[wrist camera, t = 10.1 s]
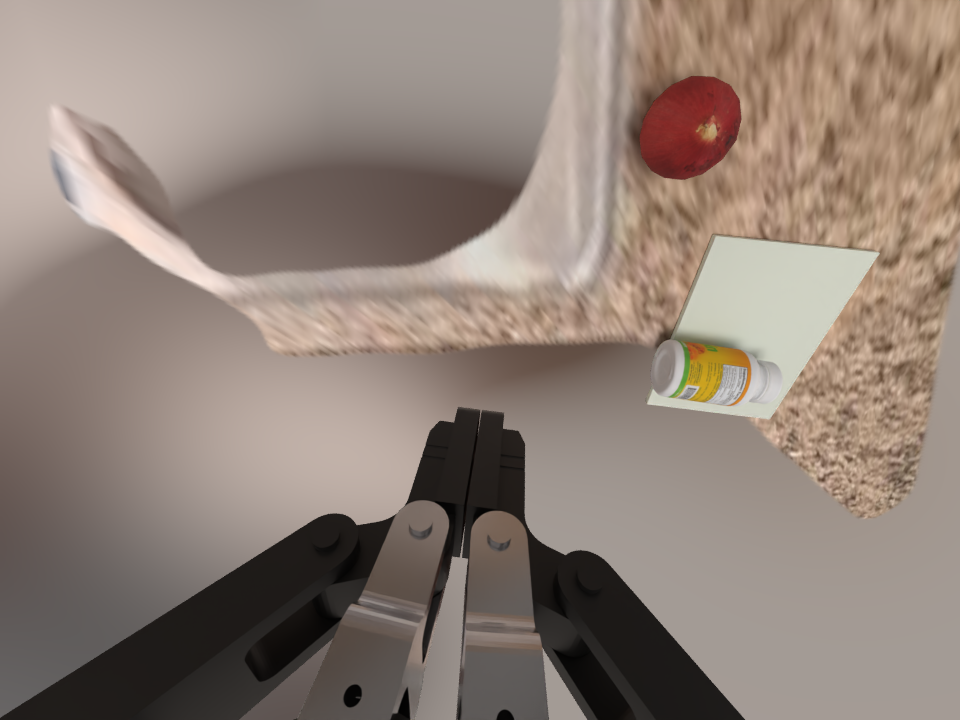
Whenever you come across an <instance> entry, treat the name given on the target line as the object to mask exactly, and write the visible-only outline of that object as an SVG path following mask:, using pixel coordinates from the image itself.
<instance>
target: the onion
mask: <svg viewBox="0 0 960 720" xmlns="http://www.w3.org/2000/svg"><path fill="white" fill-rule="evenodd" d="M740 123H741V110H740V100H739V98H738V97H737V95H736V93H735V92H734V90H733V89H732V87H731V86H730V85H729V84H727V83H725V82H723V81H721V80H719V79H717V78H715V77H703V76H691V77H688V78H686V79H684V80H682V81H680V82H677V83H675V84H673V85H671V86H670V87H669V88H667V89H666V90H665V91H664V92H663V93H662V94H661V95H660V96H659V97H658V98H657V99H656V100H655V101H654V102H653V104H652V106H651V107H650V109H649V111H648V113H647V114H646V116H645V118H644V121H643V125H642V129H641V133H640V146H641V155H642V158H643V159H644V161H645V162H646V164H647V165H648V167H649V168H650V169H651V171H653V172H655V173H657V174H659V175H660V176H662V177H664V178H671V179H680V180H682V179H688V178H691V177H694V176H698V175H701V174H703V173H705V172H706V171H707V170H709V169H710V168H711V167H713V166H714V165H715V164H717V163H718V162H719V161H721V160H722V159H723V158H724V156H725V155H726V154H727V152H728V151H729V149H730V148H731V147H732V145H733V144H734V143H735V141H736V140H737V135H738V131H739V127H740Z"/></svg>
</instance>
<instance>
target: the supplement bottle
mask: <svg viewBox="0 0 960 720" xmlns="http://www.w3.org/2000/svg"><path fill="white" fill-rule="evenodd" d="M651 383H652V386H653V389H654V391H655V392H656V393H657V394H658V395H660V396H664V397H669V398H676V399H682V400H689V401H696V402H703V403H710V404H716V405H723V406H741V405H743V404H745V403H747V402H748V401H749V402H752V403H761V404H767V403H770V402H772V401H773V400H775V399H776V397H777V396H778V395H779V393H780V391H781V388H782V384H783V377H782V372H781V370H780V368H779V367H778V366H777V365H776V364H775V363H773V362H769V361H763V360H756V359H755V357H754V356H753V355H752V354H750V353H749V352H747V351H744V350H739V349H733V348H727V347H720V346H713V345H706V344H699V343H692V342H685V341H678V340H666V341H664V342H663V343H662V344H661V345H660V346H659V347H658V349H657V351H656V353H655V355H654V358H653V361H652V366H651Z"/></svg>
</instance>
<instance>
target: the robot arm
mask: <svg viewBox="0 0 960 720" xmlns="http://www.w3.org/2000/svg"><path fill="white" fill-rule="evenodd" d="M479 418H480V410H478V409H470V408H462V407H458V409H457V413H456V417H455V421H454V423H453V422H446V421H439V422H438V423H437V424H436V425H435V426H434V428H432V430H431V431H430V433H429V436H428V439H427V442H426V446H425V448H424V451H423V455H422V458H421V461H420V464H419V467H418V470H417V474H416V477H415V480H414V483H413V486H412V489H411V492H410V495H409V499H408V501H407V503H406V504H405V506H404V507H403V508H402V509H401V510H399V512H398V513H397V514H395V515H394V516H392V517H391V518H389V519H386V520H383V521H380V522H375V523H368V524H363V525H356V524H355V522H354V521H353V520H352V519H351V518H350V517H348V516H346V515H343V514H327V515H323V516H321V517H318V518H317V519H315V520H313V521H311V522H310V523H308V524H307V525H305V526H304V527H302V528H300V529H299V530H297V531H295V532H294V533H293V534H291V535H289V536H288V537H286V538H284V539H283V540H281V541H280V542H278V543H277V544H275V545H273V546H272V547H270V548H269V549H267V550H265V551H264V552H262V553H261V554H259V555H257V556H256V557H254V558H253V559H251V560H250V561H248V562H246V563H245V564H243V565H242V566H240V567H239V568H237V569H236V570H234V571H232V572H231V573H229V574H227V575H226V576H224V577H223V578H221V579H220V580H218V581H216V582H215V583H213V584H211V585H210V586H208V587H207V588H205V589H204V590H202V591H200V592H199V593H197V594H196V595H194V596H192V597H191V598H189V599H188V600H186V601H185V602H183V603H181V604H180V605H178V606H177V607H175V608H173V609H172V610H170V611H169V612H167V613H166V614H164V615H162V616H161V617H159V618H158V619H156V620H154V621H153V622H152V623H150V624H148V625H146V626H145V627H143V628H142V629H141V630H139V631H137V632H135V633H134V634H132V635H131V636H129V637H128V638H126V639H124V640H123V641H121V642H120V643H118V644H116V645H115V646H113V647H112V648H110V649H108V650H107V651H105V652H104V653H102V654H101V655H99V656H98V657H96V658H94V659H93V660H91V661H90V662H88V663H87V664H85V665H83V666H82V667H80V668H78V669H77V670H75V671H74V672H72V673H71V674H69V675H67V676H66V677H64V678H63V679H61V680H59V681H58V682H56V683H55V684H53V685H51V686H50V687H48V688H47V689H45V690H43V691H42V692H40V693H39V694H37V695H36V696H34V697H32V698H31V699H29V700H28V701H26V702H24V703H23V704H21V705H20V706H18V707H17V708H15V709H13V710H12V711H10V712H9V713H7V714H6V715H4V716H2V717H1V718H0V720H239V719H240V718H241V717H242V716H244V715H245V714H246V713H247V712H248V711H249V710H251V708H253V707H254V706H255V705H256V704H257V703H259V702H260V701H261V700H262V699H263V698H264V697H266V696H267V695H268V694H269V693H270V692H271V691H272V690H274V689H275V688H276V687H277V686H278V685H279V684H281V682H283V681H284V680H285V679H286V678H288V677H289V676H290V675H291V674H292V673H293V672H294V671H296V670H297V669H298V668H299V667H300V666H301V665H303V664H304V663H305V662H306V661H307V660H308V659H309V658H311V657H312V656H313V655H314V654H315V653H316V652H318V651H319V650H320V649H321V648H322V647H323V646H325V645H326V644H327V643H328V642H329V641H330V640H331V639H333V640H332V642H331V644H330V647H329V649H328V651H327V653H326V656H325V658H324V660H323V662H322V665H321V667H320V669H319V671H318V674H317V676H316V678H315V681H314V682H313V685H312V687H311V689H310V692H309V694H308V696H307V698H306V700H305V703H304V705H303V707H302V709H301V712H300V714H299V717H298V718H296V719H294V720H415V717H416V712H417V708H418V704H419V699H420V695H421V690H422V684H423V678H424V672H425V667H426V663H427V659H428V655H429V650H430V646H431V643H432V638H433V634H434V630H435V627H436V622H437V619H438V614H439V611H440V607H441V603H442V599H443V594H444V590H445V586H446V582H447V580H448V576H449V571H450V565H451V559H452V556H453V557H460V553H461V546H462V540H463V533H464V543H463V554H462V558H468V565H467V575H466V584H465V595H464V613H463V628H462V643H461V644H462V645H461V659H460V674H459V688H458V700H457V714H456V720H549V717H548V705H547V694H546V683H545V672H544V661H543V651H542V647H543V649H544V651H545V653H546V654H547V656H548V657H549V659H550V660H551V662H552V664H553V665H554V667H555V669H556V670H557V672H558V673H559V675H560V677H561V678H562V680H563V681H564V683H565V684H566V686H567V688H568V689H569V691H570V692H571V694H572V696H573V697H574V699H575V701H576V702H577V704H578V705H579V707H580V709H581V710H582V712H583V713H584V715H585V716H586V718H587V720H745V719H744V718H743V717H742V716H741V715H740V713H739V712H738V711H737V710H736V709H735V708H734V707H733V705H732V704H731V703H730V702H729V701H728V700H727V699H726V697H725V696H724V695H723V694H722V693H721V692H720V691H719V690H718V688H717V687H716V686H715V685H714V684H713V683H712V682H711V680H710V679H709V678H708V677H707V676H706V675H705V674H704V672H703V671H702V670H701V669H700V668H699V667H698V665H696V663H695V662H694V661H693V660H692V659H691V657H690V656H689V655H688V654H687V653H686V652H685V651H684V649H683V648H682V647H681V646H680V645H679V644H678V643H677V641H676V640H675V639H674V638H673V637H672V636H671V635H670V633H669V632H668V631H667V630H666V629H665V628H664V627H663V625H662V624H661V623H660V622H659V621H658V620H657V619H656V618H655V616H654V615H653V614H652V613H651V612H650V611H649V609H648V608H647V607H646V606H645V605H644V604H643V603H642V602H641V600H640V599H639V598H638V597H637V596H636V595H635V594H634V592H633V591H632V590H631V589H630V588H629V587H628V586H627V584H626V583H625V582H624V581H623V580H622V579H621V578H620V576H619V575H618V574H617V573H616V572H615V571H614V570H613V568H612V567H611V566H610V565H609V564H608V563H607V562H606V561H605V560H604V559H602V558H601V557H600V556H598V555H596V554H594V553H591V552H588V551H582V550H580V551H573V552H570V553H568V554H567V555H564V554H562V553H560V552H558V551H556V550H554V549H551V548H549V547H547V546H546V545H544V544H542V543H541V542H540V541H538V540H537V539H536V538H535V537H534V536H533V535H532V533H531V532H530V530H529V528H528V527H527V524H526V521H525V514H524V508H525V507H524V506H525V502H524V501H525V443H524V441H523V439H522V437H521V435H520V433H519V431H515V430H507V429H503V420H504V413H502V412H494V411H487V410H482V413H481V420H480V426H479ZM478 428H479V432H478ZM465 520H466V521H465ZM464 527H465V532H464Z"/></svg>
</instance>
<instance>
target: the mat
mask: <svg viewBox="0 0 960 720" xmlns="http://www.w3.org/2000/svg"><path fill="white" fill-rule="evenodd" d="M878 255H879V252H877V251H873V250H863V249H854V248H844V247H834V246H824V245H814V244H804V243H795V242H785V241H775V240H765V239H755V238H745V237H736V236H726V235H716V234H713V235H712V238H711V240H710V243H709V245H708V248H707V250H706V253H705V255H704V258H703V260H702V262H701V265H700V267H699V270H698V272H697V275H696V277H695V280H694V282H693V285H692V287H691V290H690V292H689V294H688V297H687V299H686V302H685V304H684V307H683V309H682V312H681V314H680V317H679V319H678V322H677V324H676V326H675V329H674V331H673V334H672V336H671V339H670V340H678V341H685V342H692V343H699V344H706V345H713V346H720V347H727V348H733V349H739V350H744V351H747V352H749V353H750V354H752V355H753V356H754V357H755V359H756V360H763V361H769V362H773V363H775V364H776V365H777V366H778V367H779V368H780V370H781V372H782V377H783V384H782V388H781V391H780V393H779V395H778V396H777V397H776V399H775V400H773V401H772V402H770V403H767V404H761V403H752V402H749V401H748V402H747V403H745V404H743V405H741V406H723V405H716V404H710V403H703V402H696V401H689V400H682V399H676V398H669V397H664V396H660V395H658V394H657V393H656V392H655V391H654V389H653V386H651V388H650V391H649V393H648V395H647V398H646V400H645V401H646V403H647V404H650V405H659V406H667V407H674V408H683V409H690V410H699V411H707V412H715V413H723V414H731V415H739V416H747V417H755V418H763V419H770V418H771V416H772V415H773V413H774V412H775V410H776V409H777V407H778V406H779V404H780V403H781V401H782V400H783V398H784V397H785V395H786V394H787V392H788V391H789V389H790V388H791V386H792V385H793V383H794V382H795V380H796V379H797V377H798V376H799V374H800V373H801V371H802V370H803V368H804V367H805V365H806V364H807V362H808V361H809V359H810V358H811V356H812V354H813V353H814V351H815V350H816V348H817V347H818V345H819V344H820V342H821V341H822V339H823V338H824V336H825V335H826V333H827V332H828V330H829V329H830V327H831V326H832V324H833V323H834V321H835V320H836V318H837V317H838V315H839V314H840V312H841V311H842V309H843V308H844V306H845V305H846V303H847V302H848V300H849V299H850V297H851V296H852V294H853V293H854V291H855V289H856V288H857V286H858V285H859V283H860V282H861V280H862V279H863V277H864V276H865V274H866V273H867V271H868V270H869V268H870V267H871V265H872V264H873V262H874V261H875V259H876V258H877V256H878Z"/></svg>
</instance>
